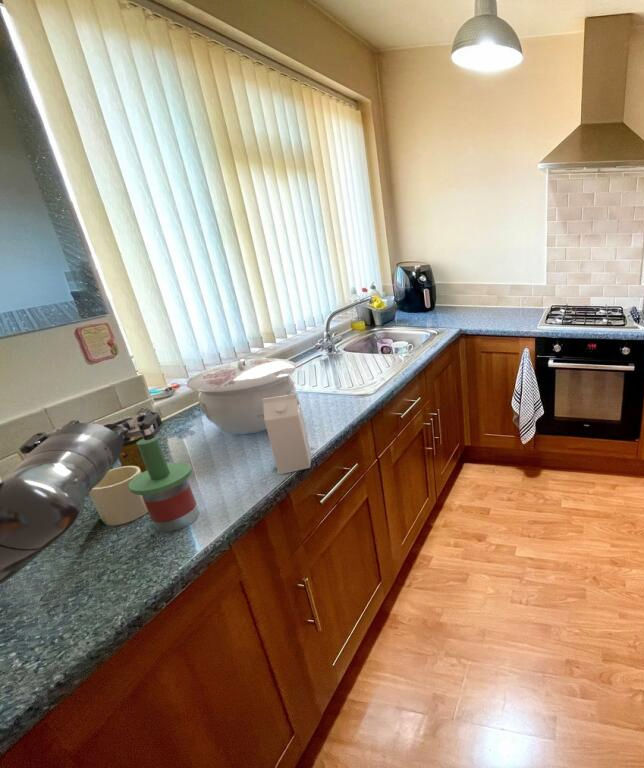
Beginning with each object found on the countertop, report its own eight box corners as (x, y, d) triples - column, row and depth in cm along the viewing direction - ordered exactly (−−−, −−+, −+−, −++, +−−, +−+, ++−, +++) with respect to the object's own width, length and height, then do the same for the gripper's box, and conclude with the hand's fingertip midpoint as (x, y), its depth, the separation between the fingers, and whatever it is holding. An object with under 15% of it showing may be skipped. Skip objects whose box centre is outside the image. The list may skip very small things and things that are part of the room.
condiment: (142, 474, 99) (124, 431, 95) (180, 471, 100) (164, 428, 96) (120, 492, 92) (100, 447, 88) (161, 488, 94) (143, 443, 89)
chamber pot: (235, 456, 107) (213, 383, 99) (185, 431, 119) (162, 366, 112) (327, 415, 129) (315, 353, 122) (276, 398, 142) (262, 341, 134)
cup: (96, 530, 81) (78, 493, 78) (111, 506, 88) (95, 472, 84) (147, 517, 84) (132, 481, 81) (158, 495, 91) (144, 462, 88)
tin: (151, 537, 79) (132, 495, 75) (161, 515, 85) (144, 475, 81) (196, 525, 82) (180, 484, 78) (202, 504, 88) (188, 466, 84)
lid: (122, 500, 74) (103, 458, 71) (139, 473, 82) (123, 435, 79) (186, 486, 78) (171, 446, 75) (196, 462, 86) (183, 424, 83)
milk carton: (281, 460, 105) (264, 393, 97) (311, 454, 107) (296, 388, 100) (278, 475, 98) (260, 404, 91) (310, 468, 101) (294, 399, 94)
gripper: (133, 421, 54) (160, 388, 68) (-22, 450, 48) (42, 408, 61) (152, 469, 57) (174, 429, 70) (7, 503, 50) (62, 451, 64)
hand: (112, 419), depth 66 cm, fingers open, 8 cm apart
